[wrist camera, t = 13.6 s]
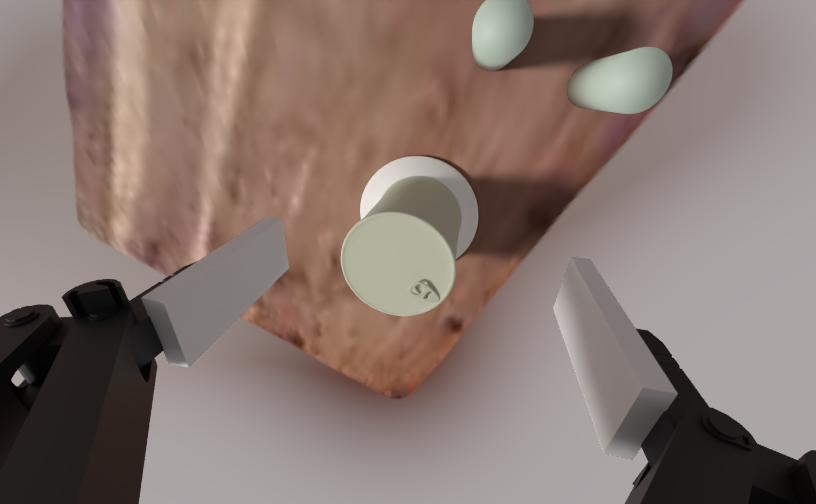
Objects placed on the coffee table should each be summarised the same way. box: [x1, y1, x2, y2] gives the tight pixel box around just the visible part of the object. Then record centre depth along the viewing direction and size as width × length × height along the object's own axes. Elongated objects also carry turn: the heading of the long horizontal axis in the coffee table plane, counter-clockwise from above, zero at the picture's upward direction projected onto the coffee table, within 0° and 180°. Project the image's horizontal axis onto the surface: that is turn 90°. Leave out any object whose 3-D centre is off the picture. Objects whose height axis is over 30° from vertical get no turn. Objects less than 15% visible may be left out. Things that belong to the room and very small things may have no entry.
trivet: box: [360, 156, 478, 259], centre depth 35 cm, size 13×13×1 cm
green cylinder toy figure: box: [341, 176, 462, 316], centre depth 29 cm, size 9×9×12 cm
